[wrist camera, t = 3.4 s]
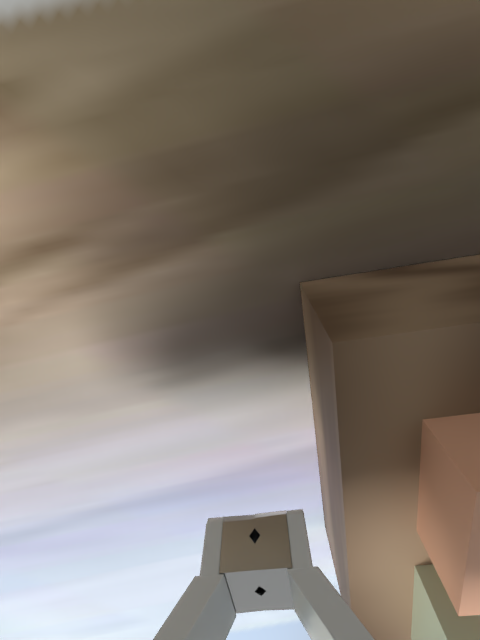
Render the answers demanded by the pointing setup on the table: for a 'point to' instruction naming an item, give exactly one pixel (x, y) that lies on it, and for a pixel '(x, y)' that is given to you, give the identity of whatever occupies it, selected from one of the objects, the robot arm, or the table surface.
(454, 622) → the sage-green tile
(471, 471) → the terracotta tile
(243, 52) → the table surface
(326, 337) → the brown rectangular block
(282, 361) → the table surface
